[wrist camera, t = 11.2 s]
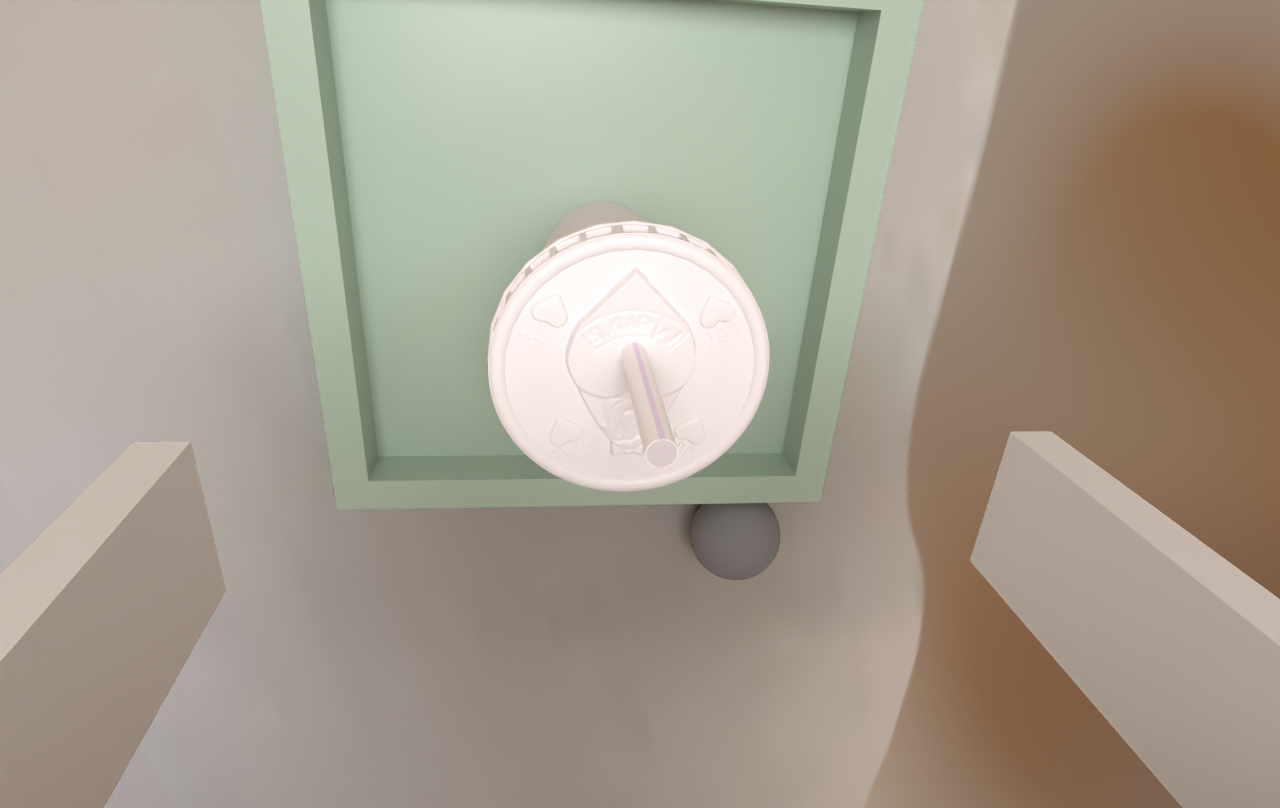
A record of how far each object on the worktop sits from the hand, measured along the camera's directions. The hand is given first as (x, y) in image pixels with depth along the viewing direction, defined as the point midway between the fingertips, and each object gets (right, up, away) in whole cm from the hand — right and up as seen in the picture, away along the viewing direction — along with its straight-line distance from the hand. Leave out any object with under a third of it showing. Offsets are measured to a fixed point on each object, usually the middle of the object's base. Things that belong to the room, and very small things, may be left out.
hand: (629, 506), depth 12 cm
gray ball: (+4, -3, +19) cm, 20 cm away
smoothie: (-1, +7, +13) cm, 15 cm away
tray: (-1, +7, +13) cm, 15 cm away
